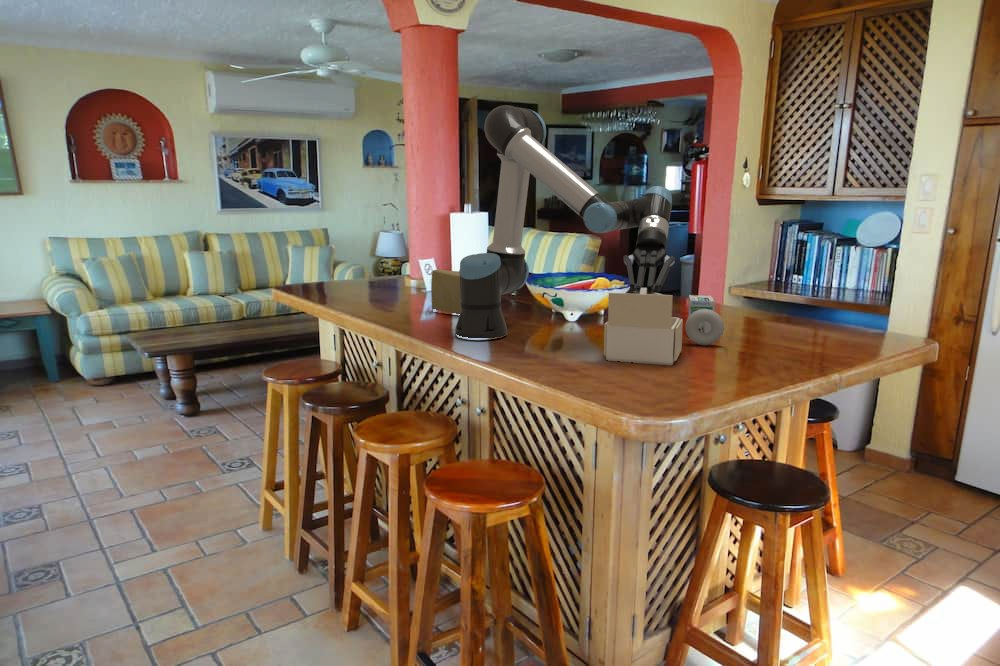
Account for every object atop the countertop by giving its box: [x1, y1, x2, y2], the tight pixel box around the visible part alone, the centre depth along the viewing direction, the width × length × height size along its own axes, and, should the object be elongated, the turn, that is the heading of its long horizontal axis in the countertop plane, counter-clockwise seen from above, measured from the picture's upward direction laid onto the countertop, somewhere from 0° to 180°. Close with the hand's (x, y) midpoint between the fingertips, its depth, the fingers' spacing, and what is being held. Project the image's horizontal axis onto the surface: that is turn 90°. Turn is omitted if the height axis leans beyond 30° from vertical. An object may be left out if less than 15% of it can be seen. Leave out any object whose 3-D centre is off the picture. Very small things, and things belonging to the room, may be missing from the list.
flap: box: [607, 292, 674, 329], centre depth 164 cm, size 15×1×8 cm, turn 70°
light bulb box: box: [687, 294, 716, 333], centre depth 198 cm, size 11×7×11 cm, turn 168°
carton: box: [603, 316, 684, 366], centre depth 174 cm, size 18×15×9 cm
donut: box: [685, 309, 725, 347], centre depth 184 cm, size 10×4×10 cm, turn 71°
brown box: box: [430, 269, 461, 314], centre depth 233 cm, size 22×10×15 cm, turn 55°
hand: (641, 312), depth 166 cm, fingers closed
